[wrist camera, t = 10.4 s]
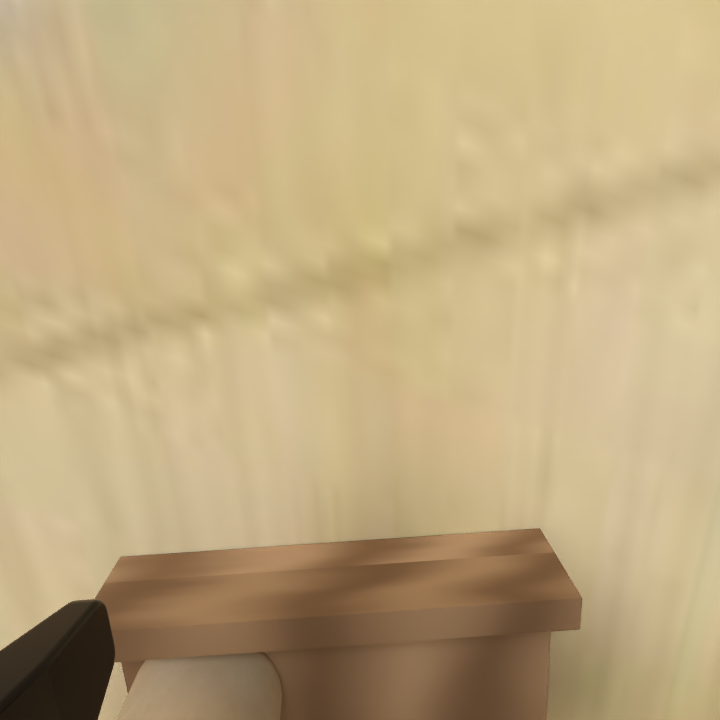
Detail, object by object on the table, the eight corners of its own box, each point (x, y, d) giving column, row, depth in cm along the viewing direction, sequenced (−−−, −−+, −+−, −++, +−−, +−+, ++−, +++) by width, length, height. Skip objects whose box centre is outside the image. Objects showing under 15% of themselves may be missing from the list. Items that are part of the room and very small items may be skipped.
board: (539, 528, 22) (581, 598, 18) (532, 712, 24) (568, 807, 20) (120, 556, 21) (73, 633, 17) (157, 740, 24) (122, 841, 20)
